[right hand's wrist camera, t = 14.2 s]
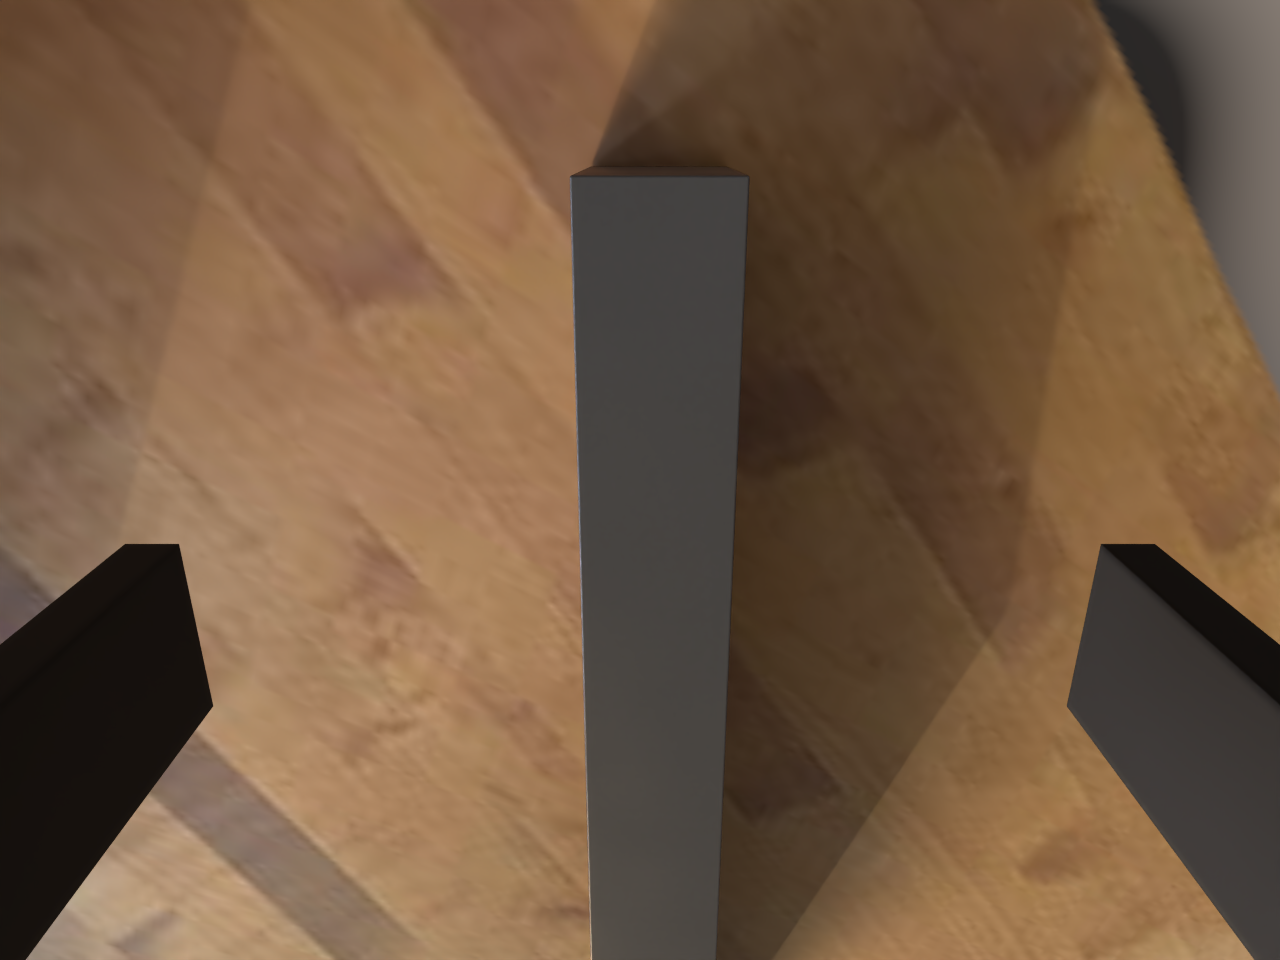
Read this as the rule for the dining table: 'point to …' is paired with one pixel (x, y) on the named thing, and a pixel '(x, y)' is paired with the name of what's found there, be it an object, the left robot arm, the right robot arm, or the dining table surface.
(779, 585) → the dining table surface
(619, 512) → the beam
